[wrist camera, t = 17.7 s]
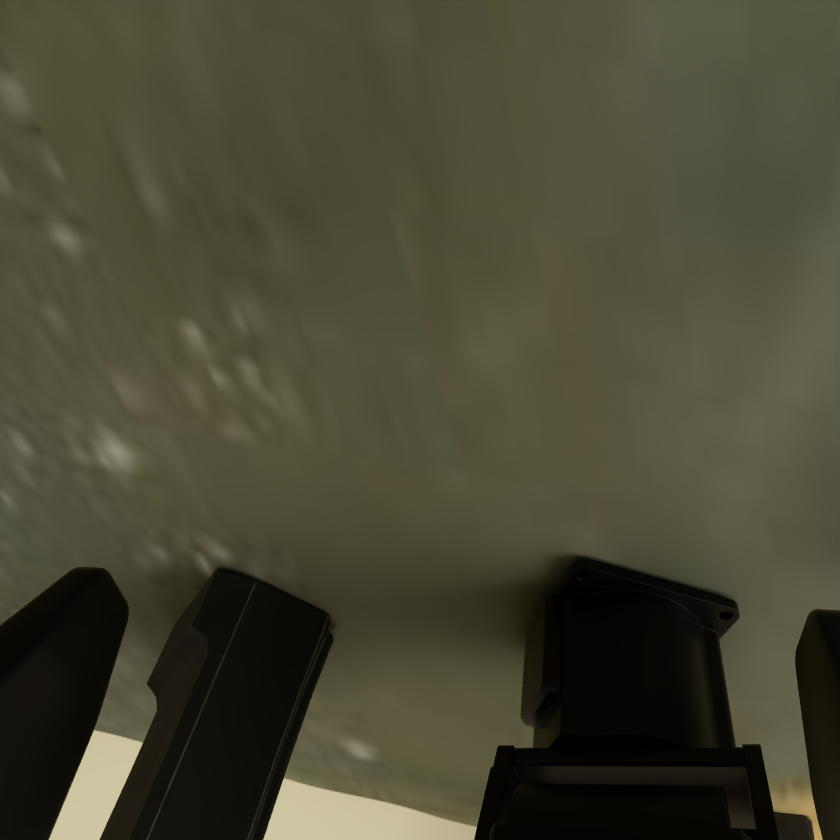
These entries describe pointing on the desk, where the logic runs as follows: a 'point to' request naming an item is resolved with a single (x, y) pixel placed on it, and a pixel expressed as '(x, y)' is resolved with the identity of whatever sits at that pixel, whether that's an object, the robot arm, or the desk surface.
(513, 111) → the desk surface
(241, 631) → the portable radio
